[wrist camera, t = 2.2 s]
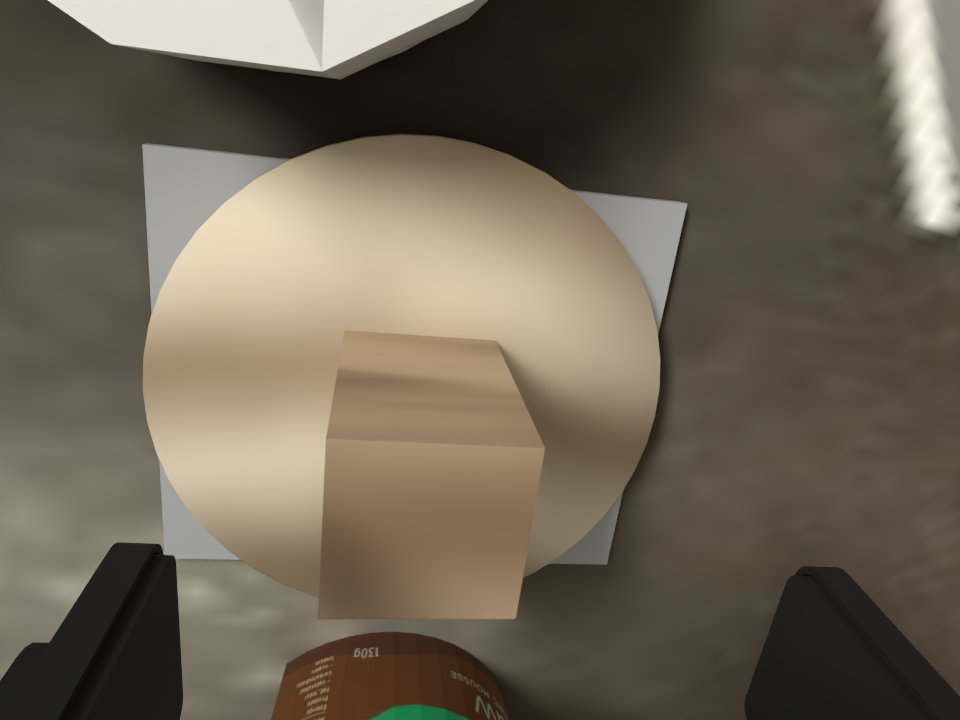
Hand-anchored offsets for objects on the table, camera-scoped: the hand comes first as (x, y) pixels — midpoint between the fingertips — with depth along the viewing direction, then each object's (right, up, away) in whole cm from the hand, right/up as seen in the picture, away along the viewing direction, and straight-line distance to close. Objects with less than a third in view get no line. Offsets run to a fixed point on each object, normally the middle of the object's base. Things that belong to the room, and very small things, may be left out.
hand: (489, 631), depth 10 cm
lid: (-2, +3, +9) cm, 10 cm away
